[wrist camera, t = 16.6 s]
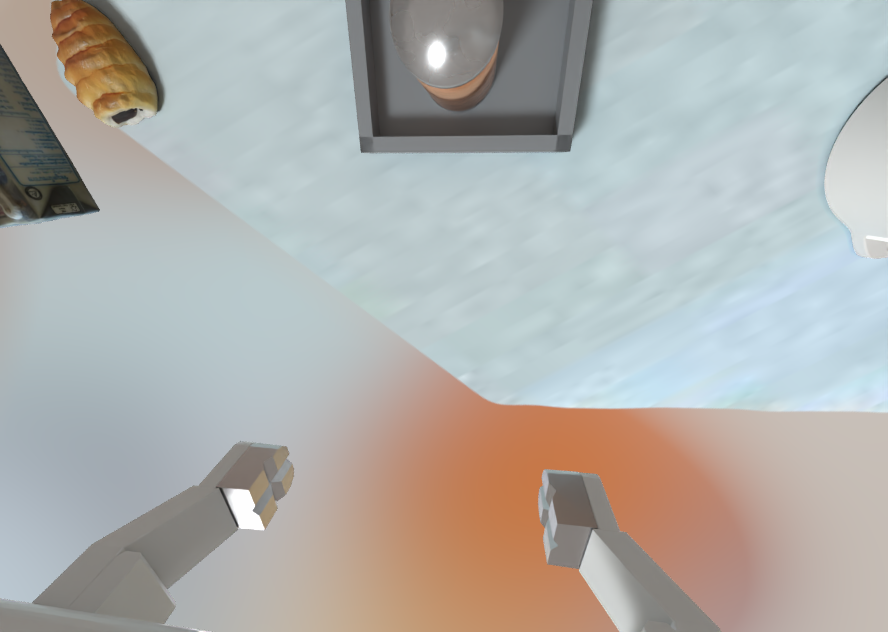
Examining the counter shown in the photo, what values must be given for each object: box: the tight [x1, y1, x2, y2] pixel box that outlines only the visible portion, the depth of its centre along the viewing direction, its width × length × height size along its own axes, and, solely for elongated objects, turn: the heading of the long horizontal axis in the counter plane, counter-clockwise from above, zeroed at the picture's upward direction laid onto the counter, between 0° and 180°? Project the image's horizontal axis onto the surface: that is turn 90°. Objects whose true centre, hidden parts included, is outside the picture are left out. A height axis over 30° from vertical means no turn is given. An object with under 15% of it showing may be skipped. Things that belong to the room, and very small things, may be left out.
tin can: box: [389, 0, 503, 113], centre depth 22 cm, size 6×6×11 cm
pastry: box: [50, 0, 158, 128], centre depth 29 cm, size 9×7×4 cm
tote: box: [345, 0, 593, 153], centre depth 26 cm, size 18×13×3 cm
